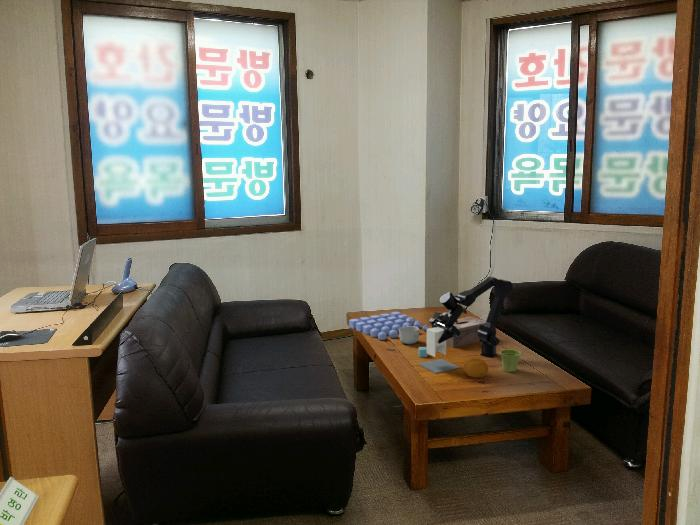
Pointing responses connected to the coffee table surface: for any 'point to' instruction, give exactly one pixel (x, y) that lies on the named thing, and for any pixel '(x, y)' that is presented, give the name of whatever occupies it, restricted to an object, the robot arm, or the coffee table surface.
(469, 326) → the tissue box cover
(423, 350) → the block
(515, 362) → the plant pot
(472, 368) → the fruit
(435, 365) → the mat
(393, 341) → the coffee table surface
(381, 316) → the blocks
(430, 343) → the tall white pillar
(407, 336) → the teacup
